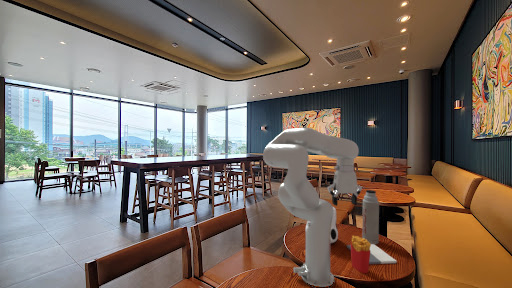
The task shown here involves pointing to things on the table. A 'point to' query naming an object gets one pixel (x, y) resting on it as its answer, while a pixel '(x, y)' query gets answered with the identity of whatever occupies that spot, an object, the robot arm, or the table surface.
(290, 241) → the table surface
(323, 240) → the robot arm
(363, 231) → the thermos bottle
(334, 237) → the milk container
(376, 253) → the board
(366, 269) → the french fries
